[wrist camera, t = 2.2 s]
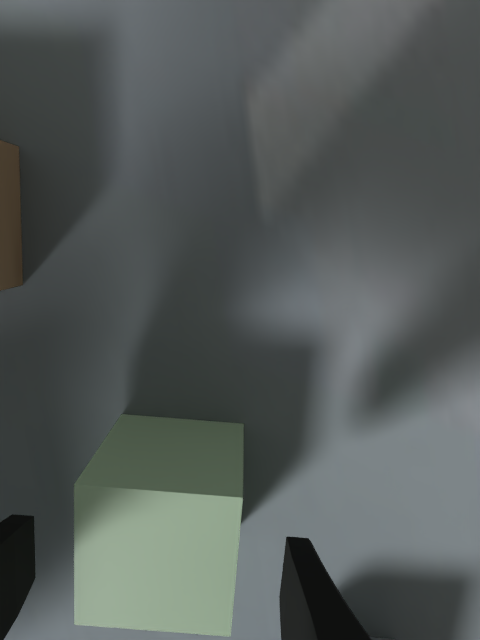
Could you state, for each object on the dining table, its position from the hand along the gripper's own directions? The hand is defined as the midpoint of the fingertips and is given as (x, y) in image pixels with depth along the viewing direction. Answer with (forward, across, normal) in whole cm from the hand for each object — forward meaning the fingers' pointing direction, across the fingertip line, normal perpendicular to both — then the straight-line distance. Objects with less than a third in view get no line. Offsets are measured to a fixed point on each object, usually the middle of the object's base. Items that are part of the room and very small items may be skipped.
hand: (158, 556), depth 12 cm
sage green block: (+4, 0, 0) cm, 4 cm away
